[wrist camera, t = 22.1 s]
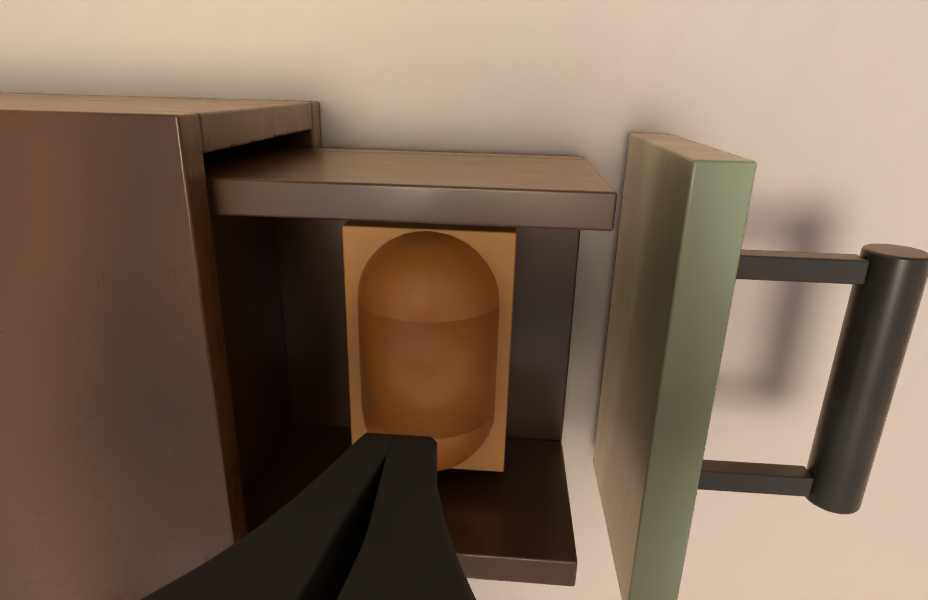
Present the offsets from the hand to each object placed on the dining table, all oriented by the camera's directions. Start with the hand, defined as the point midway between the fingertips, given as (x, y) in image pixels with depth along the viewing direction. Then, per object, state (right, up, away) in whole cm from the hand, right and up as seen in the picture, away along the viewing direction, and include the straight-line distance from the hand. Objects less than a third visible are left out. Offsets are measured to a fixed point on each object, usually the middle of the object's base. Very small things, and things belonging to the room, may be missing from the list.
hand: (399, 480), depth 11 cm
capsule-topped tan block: (0, +3, +8) cm, 8 cm away
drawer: (+3, +3, +9) cm, 10 cm away
